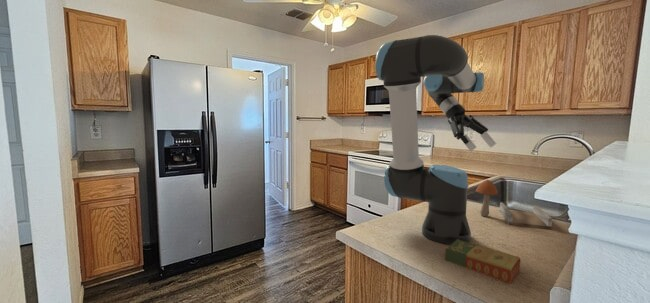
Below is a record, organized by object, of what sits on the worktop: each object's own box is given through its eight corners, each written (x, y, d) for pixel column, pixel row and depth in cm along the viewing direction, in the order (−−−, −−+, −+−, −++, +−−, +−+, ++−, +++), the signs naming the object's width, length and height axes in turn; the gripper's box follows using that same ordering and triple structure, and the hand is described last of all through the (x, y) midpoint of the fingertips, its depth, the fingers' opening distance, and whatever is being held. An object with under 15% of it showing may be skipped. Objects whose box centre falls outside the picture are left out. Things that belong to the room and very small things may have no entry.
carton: (510, 285, 67) (511, 268, 67) (444, 261, 79) (444, 246, 78) (519, 272, 73) (521, 256, 72) (456, 251, 84) (457, 237, 84)
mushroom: (493, 213, 117) (495, 178, 116) (499, 219, 110) (502, 182, 108) (472, 211, 119) (474, 177, 118) (477, 218, 112) (479, 181, 110)
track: (508, 224, 105) (509, 214, 104) (499, 211, 120) (500, 202, 119) (551, 229, 100) (552, 218, 100) (535, 215, 115) (536, 205, 115)
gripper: (464, 113, 133) (494, 149, 122) (428, 116, 120) (457, 156, 110) (475, 102, 127) (508, 138, 117) (439, 104, 115) (471, 144, 105)
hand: (483, 147), depth 114 cm, fingers open, 13 cm apart
